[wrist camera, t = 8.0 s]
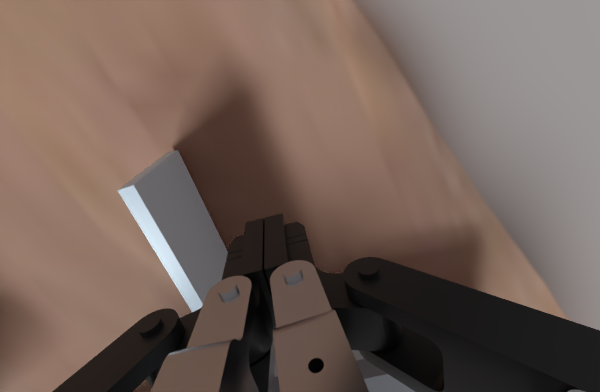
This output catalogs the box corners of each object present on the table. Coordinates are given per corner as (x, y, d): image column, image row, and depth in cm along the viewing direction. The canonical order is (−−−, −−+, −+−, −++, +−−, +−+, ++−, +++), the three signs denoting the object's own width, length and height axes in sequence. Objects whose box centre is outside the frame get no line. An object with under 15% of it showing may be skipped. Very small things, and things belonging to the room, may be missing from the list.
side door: (257, 313, 26) (253, 390, 20) (238, 319, 26) (228, 397, 20) (177, 149, 20) (133, 185, 14) (153, 157, 20) (97, 196, 14)
